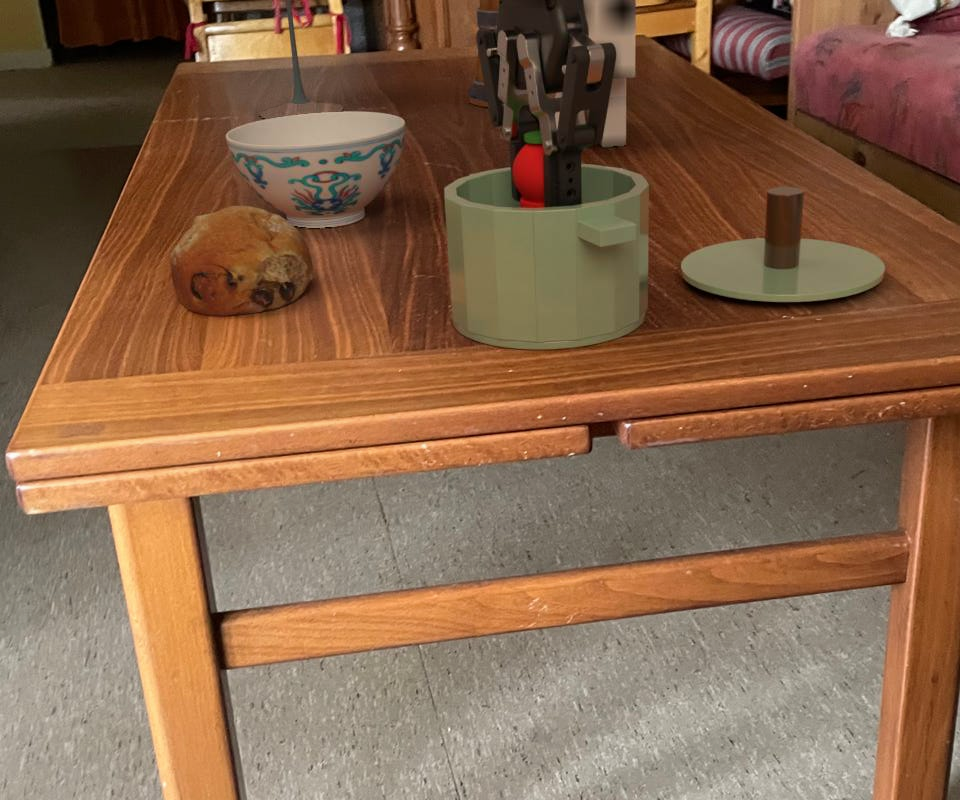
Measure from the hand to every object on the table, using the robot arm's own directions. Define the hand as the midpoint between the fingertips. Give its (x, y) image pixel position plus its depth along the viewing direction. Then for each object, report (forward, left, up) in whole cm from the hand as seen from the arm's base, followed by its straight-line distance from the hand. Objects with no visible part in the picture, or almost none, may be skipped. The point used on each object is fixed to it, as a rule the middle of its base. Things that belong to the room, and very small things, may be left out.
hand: (546, 206), depth 77 cm
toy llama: (-30, -49, -7) cm, 58 cm away
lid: (-17, +2, -7) cm, 18 cm away
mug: (-37, -76, -7) cm, 85 cm away
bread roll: (+16, -16, -7) cm, 24 cm away
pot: (0, 0, -7) cm, 7 cm away
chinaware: (+4, -34, -7) cm, 35 cm away
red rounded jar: (0, 0, 0) cm, 0 cm away
